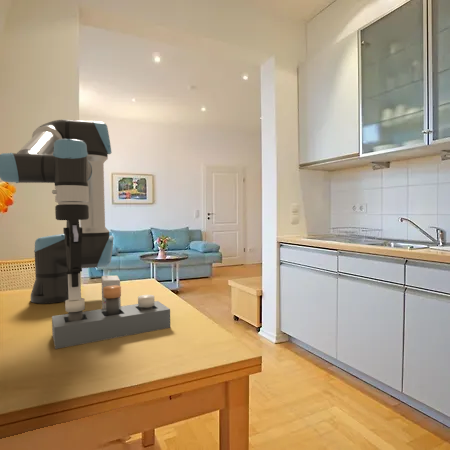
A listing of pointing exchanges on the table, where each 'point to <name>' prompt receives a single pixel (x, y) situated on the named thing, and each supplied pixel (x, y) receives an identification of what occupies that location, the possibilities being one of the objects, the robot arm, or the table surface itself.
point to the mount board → (108, 324)
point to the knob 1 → (75, 309)
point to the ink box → (109, 282)
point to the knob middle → (112, 299)
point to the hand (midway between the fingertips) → (74, 299)
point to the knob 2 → (146, 302)
